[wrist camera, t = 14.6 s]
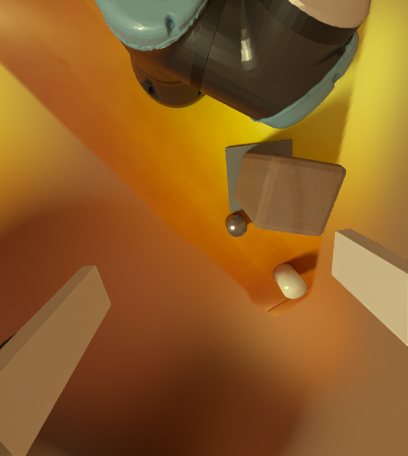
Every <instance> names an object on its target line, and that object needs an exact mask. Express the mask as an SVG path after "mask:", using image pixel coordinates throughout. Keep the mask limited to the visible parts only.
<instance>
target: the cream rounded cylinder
mask: <svg viewBox="0 0 408 456" xmlns="http://www.w3.org/2000/svg"><path fill="white" fill-rule="evenodd" d="M273 276H274V278H275V280H276V281H277V283H278V285H279V287H280V288H281V290H282V292H283V293H284V295H285V296H286V297H288V298H291V299H294V298H298V297H300V296H302V295H303V294H304V293H305V291H306V289H307V286H306V283H305V282H304V281H303V279H302V278H301V277H300V276H299V274H298V273H297V272H296V271H295V269H294V268H293V267H292V266H291V265H290V264H287V263H283V264H280V265H278V266H277V267H276V268H275V269H274V271H273Z"/></svg>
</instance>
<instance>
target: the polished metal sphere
mask: <svg viewBox="0 0 408 456" xmlns="http://www.w3.org/2000/svg"><path fill="white" fill-rule="evenodd" d="M225 223H226V227H227V229H228V232H229V233H230V234H231V235H232V236H235V237H238V236H242V235H243V234H244V233H245V232H246V230H247V224H246V222H245V220H244V219H243V217H242V216H241V215H240V214H238V213H232V214H230V215H229V216H228V217H227V218H226V221H225Z"/></svg>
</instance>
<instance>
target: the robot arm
mask: <svg viewBox="0 0 408 456" xmlns="http://www.w3.org/2000/svg"><path fill="white" fill-rule="evenodd" d="M95 1H96V3H97V5H98V7H99V9H100V10H101V12H102V14H103V17H104V20H105V22H106V23H107V25H108V27H109V28H110V29H111V30H112V32H113V34H115V35H116V37H117V38H118V39H119V40H120V41H121V42H122V44H123V45H124V46H125V48H126V49H127V50H128V52H129V53H130V58H131V63H132V67H133V70H134V73H135V75H136V78H137V80H138V81H139V83H140V85H141V86H142V88H143V89H144V90H145V91H146V92H147V94H148V95H149V96H150V97H151V98H153V99H154V100H155V101H157V102H158V103H160V104H162V105H164V106H167V107H171V108H183V107H187V106H190V105H192V104H194V103H195V102H197V101H198V100H199V99H201V98H202V97H203V95H204V94H206V95H208V96H210V97H212V98H214V99H216V100H218V101H220V102H222V103H224V104H226V105H227V106H229V107H231V108H233V109H235V110H237V111H239V112H241V113H243V114H245V115H247V116H249V117H250V118H251V119H252V120H253V121H255V122H256V121H257V122H262V123H264V124H266V125H269V126H271V127H273V128H279V129H281V128H286V127H289V126H292V125H294V124H296V123H297V122H299V121H301V120H302V119H303V118H305V117H306V116H307V115H308V114H310V113H311V112H312V111H313V110H314V109H315V108H316V107H317V106H318V105H319V104H320V103H321V102H322V101H323V100H324V99H325V98H326V97H327V96H328V95H329V93H330V92H331V91H332V90H333V88H334V84H335V82H336V81H337V80H338V79H339V78H341V77H342V76H343V75H344V73H345V72H346V70H347V69H348V67H349V66H350V64H351V62H352V60H353V58H354V56H355V53H356V51H357V47H358V41H359V36H358V33H357V29H358V27H359V26H360V25H361V24H362V23H363V21H364V20H365V18H366V17H367V15H368V14H369V8H370V1H371V0H95ZM332 275H333V276H334V277H335V278H336V279H337V280H338V281H339V282H340V283H341V284H342V285H343V286H344V287H345V288H347V289H348V290H349V291H350V292H351V293H352V294H353V295H354V296H355V297H356V298H357V299H358V300H359V301H360V302H361V303H362V304H364V305H365V306H366V307H367V308H368V309H369V310H370V311H371V312H372V313H373V314H374V315H375V316H376V317H377V318H378V319H379V320H380V321H382V322H383V323H384V324H385V325H386V326H387V327H388V328H389V329H390V330H391V331H392V332H393V333H394V334H395V335H396V336H397V337H398V338H399V339H401V340H402V341H403V342H404V343H405V344H406V345H407V346H408V259H407V258H405V257H403V256H401V255H399V254H397V253H396V252H394V251H391V250H390V249H388V248H386V247H384V246H382V245H380V244H378V243H377V242H375V241H373V240H371V239H369V238H367V237H365V236H363V235H361V234H359V233H357V232H356V231H354V230H352V229H344V230H337V231H336V233H335V243H334V254H333V265H332ZM110 306H111V303H110V300H109V298H108V295H107V293H106V291H105V288H104V285H103V283H102V280H101V278H100V275H99V273H98V270H97V268H96V265H94V266H87V267H82V268H81V269H80V270H79V271H78V272H77V273H76V274H75V275H74V276H73V277H72V278H71V279H70V280H69V281H68V282H67V283H66V284H65V285H64V286H63V287H62V288H61V289H60V290H59V291H58V292H57V293H56V294H55V295H54V296H53V297H52V298H51V299H50V300H49V301H48V302H47V303H46V304H45V305H44V306H43V307H42V308H41V309H40V310H39V311H38V312H37V313H36V314H35V315H34V316H33V317H32V318H31V319H30V320H29V321H28V322H27V323H26V324H25V325H24V326H23V328H21V329H20V330H19V331H18V332H17V333H16V334H14V335H13V336H11V337H10V338H9V339H7V340H6V341H5V342H4V343H2V345H0V456H25V455H26V454H27V452H28V450H29V448H30V447H31V445H32V443H33V441H34V439H35V437H36V436H37V434H38V432H39V431H40V429H41V427H42V425H43V424H44V422H45V420H46V418H47V417H48V415H49V413H50V411H51V409H52V408H53V406H54V404H55V402H56V401H57V399H58V397H59V395H60V394H61V392H62V390H63V388H64V387H65V385H66V383H67V381H68V380H69V378H70V376H71V374H72V373H73V371H74V369H75V367H76V365H77V363H78V362H79V360H80V358H81V357H82V355H83V353H84V351H85V350H86V348H87V346H88V344H89V343H90V341H91V339H92V337H93V336H94V334H95V332H96V330H97V329H98V327H99V325H100V323H101V322H102V320H103V318H104V316H105V314H106V313H107V311H108V309H109V307H110Z"/></svg>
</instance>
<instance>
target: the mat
mask: <svg viewBox="0 0 408 456" xmlns="http://www.w3.org/2000/svg"><path fill="white" fill-rule="evenodd" d="M225 152H226V165H227V177H228V190H229V203H230V212H232V211H241V210H243V208H242V207H241V206H240V204H239V203H238V202H237V200H236V199H235V197H234V193H235V188H236V183H237V178H238V173H239V169H240V164H241V159H242V156H243V155H244V154H245V153H261V154H277V155H285V156H291V157H292V139H291V140H283V141H276V142H268V143H260V144H253V145H245V146H237V147H229V148H225Z"/></svg>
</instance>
